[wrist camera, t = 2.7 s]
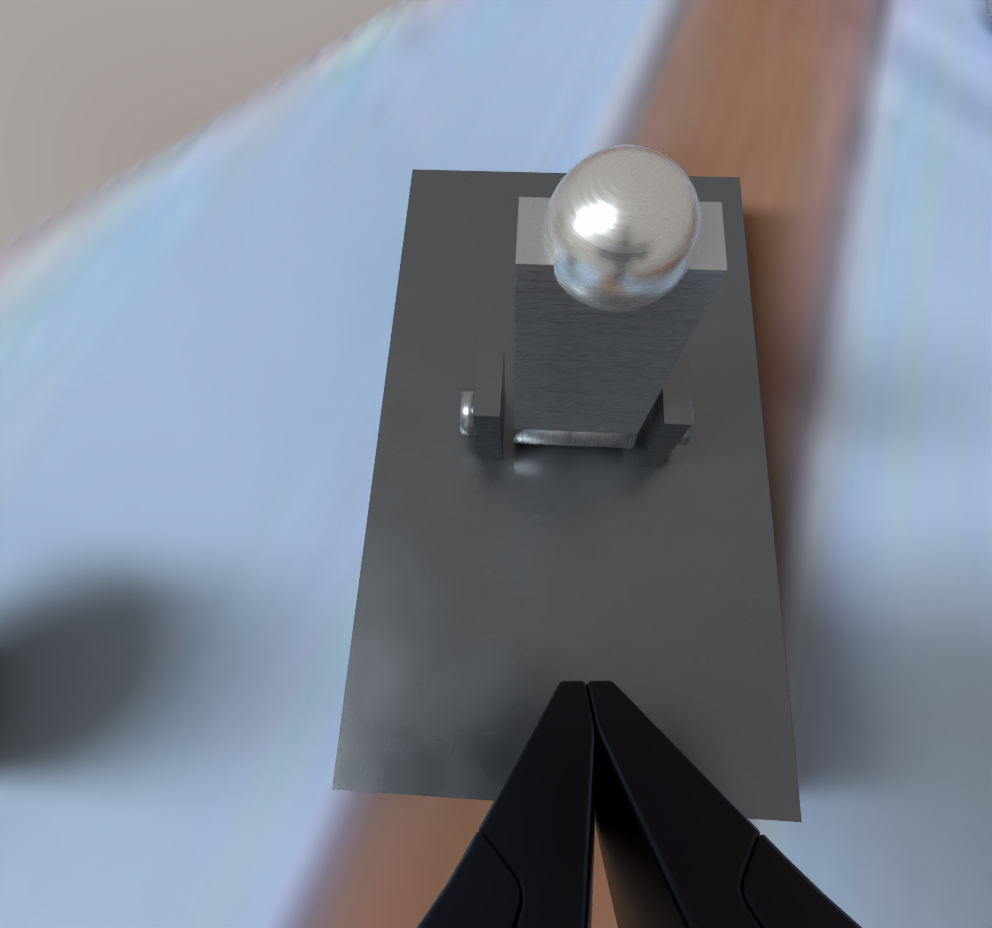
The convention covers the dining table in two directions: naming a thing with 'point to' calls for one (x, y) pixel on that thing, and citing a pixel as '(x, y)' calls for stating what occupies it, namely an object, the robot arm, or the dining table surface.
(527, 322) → the lever
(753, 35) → the dining table surface
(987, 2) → the donut
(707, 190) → the lever base
